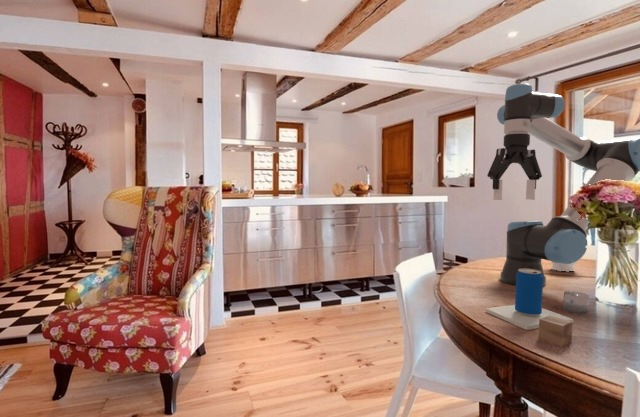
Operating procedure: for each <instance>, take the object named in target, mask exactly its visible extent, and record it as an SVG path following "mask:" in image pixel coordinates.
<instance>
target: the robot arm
mask: <svg viewBox="0 0 640 417" xmlns="http://www.w3.org/2000/svg"><path fill="white" fill-rule="evenodd" d="M565 103H566V101H565V99H564V97H563V95H559V94H555V93H543V92H534V91H533V86H532V85H531V84H530V83H516V84H512V85H510V86H507V88H506V90H505V96H504V105H502V106H500V107H499V108H498V110H497V114H496V115H497V120H498V122H499V123H500V124H501V125H503V126H504V127H503V134H504V136H503V147H504V148H503V147H502V148H501V147H500V148H497V149H496V152H495V156H494V158H493V161H492V163H491V165H490V168H489V170H488V172H487V178H489V179H490V180H492V190H493V198H492V199H493V201H502V200H503V179H502V176H503V175H504V173H506V171H507V169H508V168H509V166H511V164H518V165H519V166H520V167H521V168H522V170H523V172H524V173H525V175H526V176H527V178H528V179H526V187H525V188H526V190H525V200H528V201H529V200H530V201H531V200H533V201H535V200H536V198H535V197H536V194H535V193H536V189H537V181H539V180H540V179H541V178H543V174H542V171H541V168H540V165H539V162H538V160H537V156H536V149H528V147H529V146H530V143H531V136H533V137H534V138H535V139H538V140H540V141H541V142H543V143H544V144H546V145H548V146H550V147H551V148H553V149H555V150H557V151H559V152H560V153H563V155H565V158H566V159H567V160H568V161H570V162H572V163H574V164H576V165H578V166H580V167H582V168H584V169H587V170H590V171H593V172H595V173H594V174H593V175H592V176H591V177H590V178H589V180H588V181H587V183H585V185H589V184H593V183H596V182H598V181H600V180H605V179H611V180H624V181H628V182H630V181H632V180H633V179H634V178H635V177H636V175H637V174H638V173H639V172H640V136H637V137H636V136H631V137H629V138H620V139H610V140H591V139H589V137H588V138H587V137H585V136H583V137H580V136H578V135H577V134H575V133H573V132H572V131H570V130H568V129H567V128H565V127H563V126H561V125H559V124H558V123H556V122H554V121H553V120H551V119H553V118H554V119H555V118H557V117H559V116H560V115H561V114H562V113H563V111H564V110H565ZM550 118H551V119H550ZM570 204H571V203H570ZM570 204H569V205H568V206H567V207H566V208H565V210H564V211H563V212H562V213H561V214H560V216H559V215H558V216H554V217H552V218H551V219H550V220H549V222H548V223H547V224H546V225H544V222H543V221H542V220H531V221H530V220H528V221H525V220H524V221H510V222H509V223H508V225H507V231H506V253H505V255H506V259H505V262H504V264H503V268H502V271H501V272H500V281H502V282H503V283H507V284H510V285H514V286H516V274H517V272H518V269H535V270H539V271H541V272H542V273H541V274H542V275H543V287H545V286H546V285H547V277H546V276H545V272H544V268H543V264H542V260H545V261H548V262H549V261H550V262H551V261H552V262H555V263H563V264H571V263H574V262H576V261H577V262H578V261H579V260H580V259H582V258H583V257H584V255H585V254H586V252H587V248H588V247H586V246H588V239H587V238H588V233H587V231H586V230H587V229H588V228H589V227H588V226H587V225H588V220H587V219H586V218H584V219H581V218H580V217H581V215H580V214H579V213H578V212H577V211H575V209H574V208H573V207H572V204H571V205H570ZM570 206H571V207H572V208H571V207H570ZM570 208H571V209H570ZM576 219H577V220H578V219H581V220H578V221H577V220H576ZM552 262H551V263H552ZM577 262H576V263H577Z"/></svg>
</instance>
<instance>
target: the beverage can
mask: <svg viewBox="0 0 640 417" xmlns="http://www.w3.org/2000/svg"><path fill="white" fill-rule="evenodd" d="M541 273H542V272H541V271H539V270H535V269H518V272H517V274H516V285H515V295H514V296H515V300H514V305H515V310H516V311H517V312H518V313H519V314H521V315H524V316H530V317H536V316H538V315H540V314H541V313H542V308H543V291H544V290H543V288H544V286H543V275H542V274H541Z"/></svg>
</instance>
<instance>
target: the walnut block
mask: <svg viewBox="0 0 640 417" xmlns="http://www.w3.org/2000/svg"><path fill="white" fill-rule="evenodd" d="M573 323H574V321H573V322H572V321H569V320H565V319H562V318H558V317H554V316H551V315H549V316H546V317H544V318H541V319H539V328H538V336H537V337H538V339H537V340H539V341H542V342H545V343H548V344H550V343H551V345H553V344H554V346H556V345H557V346H556V347H559V348H562V346H563V347H564V346H567V345H569V344H570V343H572V340H573V339H572V338H573Z"/></svg>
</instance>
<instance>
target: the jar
mask: <svg viewBox="0 0 640 417" xmlns="http://www.w3.org/2000/svg"><path fill="white" fill-rule="evenodd" d="M550 262H551V264H552V266H551V270H553V271H556V270H557V272H561V271H566V272H565V273H570V272H569V271H574V272H575V271H576V270H575V268H574V267H575V266H576V265H577V262H578V261H576V262H574V263H571V264H563V263H555V262H552V261H550Z"/></svg>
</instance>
